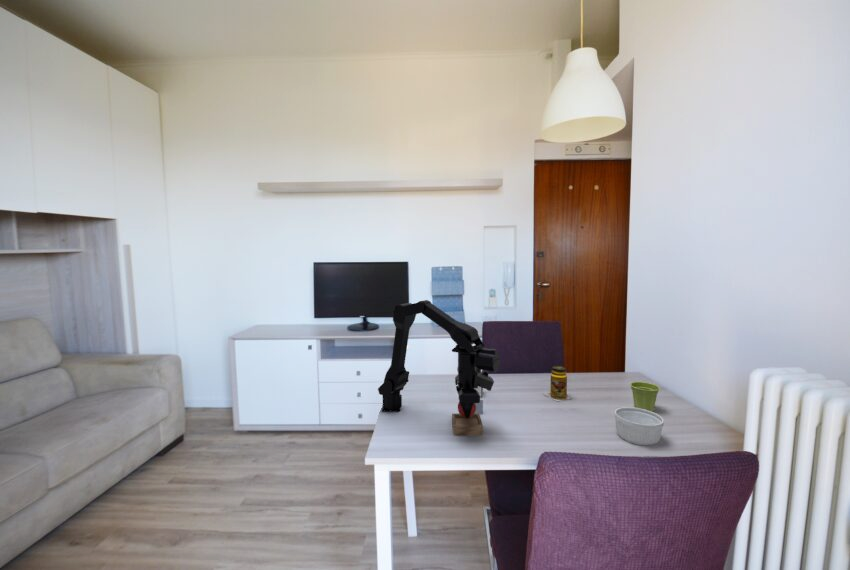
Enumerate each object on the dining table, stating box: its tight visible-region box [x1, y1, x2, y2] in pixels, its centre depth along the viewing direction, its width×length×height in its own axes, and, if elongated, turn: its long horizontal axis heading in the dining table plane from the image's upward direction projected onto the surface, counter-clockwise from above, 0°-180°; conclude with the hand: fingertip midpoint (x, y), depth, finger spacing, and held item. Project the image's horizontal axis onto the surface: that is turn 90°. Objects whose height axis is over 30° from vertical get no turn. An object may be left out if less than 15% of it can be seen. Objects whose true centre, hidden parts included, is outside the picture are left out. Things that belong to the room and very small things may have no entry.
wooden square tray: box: [451, 412, 484, 437], centre depth 122 cm, size 9×9×4 cm
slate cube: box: [475, 397, 484, 415], centre depth 136 cm, size 5×5×5 cm
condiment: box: [543, 365, 572, 402], centre depth 149 cm, size 7×8×12 cm
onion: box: [457, 401, 476, 419], centre depth 121 cm, size 6×6×8 cm
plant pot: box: [629, 381, 661, 412], centre depth 136 cm, size 9×9×9 cm
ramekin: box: [614, 406, 665, 446], centre depth 115 cm, size 13×13×7 cm
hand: (466, 413), depth 122 cm, fingers closed on onion, 6 cm apart
